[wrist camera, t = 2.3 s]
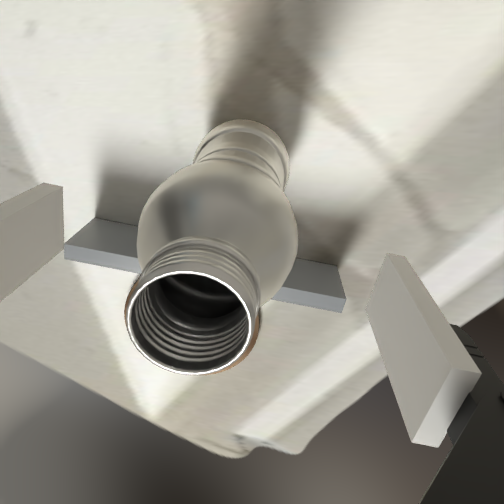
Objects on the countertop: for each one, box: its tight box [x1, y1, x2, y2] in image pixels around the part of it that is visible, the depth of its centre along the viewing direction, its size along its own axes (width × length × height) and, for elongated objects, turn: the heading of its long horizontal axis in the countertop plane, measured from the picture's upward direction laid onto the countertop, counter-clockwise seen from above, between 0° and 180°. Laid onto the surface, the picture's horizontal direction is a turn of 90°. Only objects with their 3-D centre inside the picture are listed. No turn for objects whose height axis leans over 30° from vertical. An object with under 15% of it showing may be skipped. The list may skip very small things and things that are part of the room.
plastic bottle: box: [126, 119, 299, 375], centre depth 20 cm, size 6×7×20 cm
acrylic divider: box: [64, 218, 346, 313], centre depth 30 cm, size 1×20×5 cm, turn 80°
